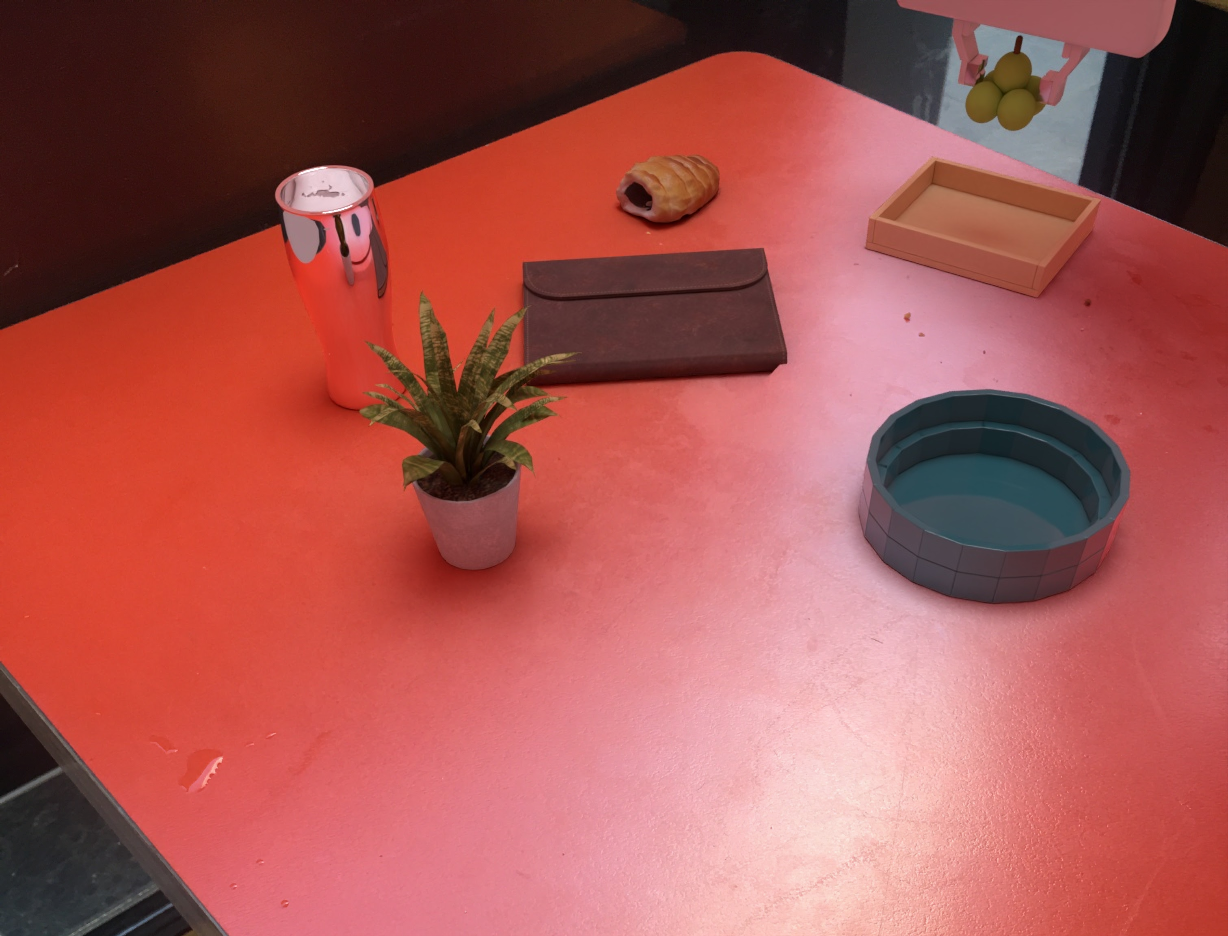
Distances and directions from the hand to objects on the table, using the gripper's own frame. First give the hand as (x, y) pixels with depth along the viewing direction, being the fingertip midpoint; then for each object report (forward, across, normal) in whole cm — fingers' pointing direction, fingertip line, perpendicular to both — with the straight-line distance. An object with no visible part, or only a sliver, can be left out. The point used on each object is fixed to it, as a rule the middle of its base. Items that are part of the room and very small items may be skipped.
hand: (1008, 92), depth 94 cm
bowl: (+12, -15, +34) cm, 39 cm away
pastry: (+12, +26, +8) cm, 29 cm away
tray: (+12, 0, 0) cm, 12 cm away
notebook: (+12, +17, +25) cm, 32 cm away
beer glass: (+12, +31, +43) cm, 54 cm away
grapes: (+2, 0, 0) cm, 2 cm away
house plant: (+12, +12, +54) cm, 56 cm away
